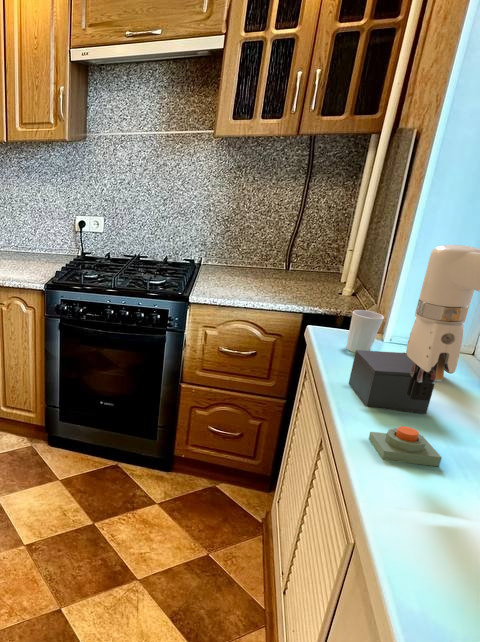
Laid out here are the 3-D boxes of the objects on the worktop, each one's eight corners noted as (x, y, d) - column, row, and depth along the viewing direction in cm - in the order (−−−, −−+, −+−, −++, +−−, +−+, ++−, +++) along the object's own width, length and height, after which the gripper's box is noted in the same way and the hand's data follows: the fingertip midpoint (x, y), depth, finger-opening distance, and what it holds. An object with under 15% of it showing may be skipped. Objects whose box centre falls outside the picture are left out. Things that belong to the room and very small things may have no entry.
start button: (412, 434, 111) (414, 427, 110) (420, 443, 107) (422, 436, 107) (392, 432, 112) (394, 425, 111) (399, 441, 108) (401, 434, 108)
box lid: (414, 356, 135) (419, 338, 133) (440, 378, 122) (446, 358, 121) (355, 352, 138) (358, 335, 136) (374, 373, 126) (378, 354, 124)
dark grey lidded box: (402, 389, 138) (411, 356, 135) (426, 414, 126) (436, 378, 123) (348, 385, 141) (355, 353, 138) (366, 408, 129) (374, 374, 126)
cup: (378, 356, 159) (390, 319, 155) (352, 355, 159) (363, 318, 155) (362, 345, 167) (373, 310, 162) (336, 345, 167) (347, 309, 162)
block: (421, 445, 113) (425, 429, 112) (439, 466, 106) (444, 449, 105) (368, 440, 116) (372, 424, 114) (382, 460, 109) (386, 443, 107)
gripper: (487, 325, 92) (458, 417, 98) (444, 300, 106) (421, 383, 112) (437, 322, 94) (412, 413, 100) (401, 299, 108) (381, 380, 114)
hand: (417, 397), depth 106 cm, fingers closed
